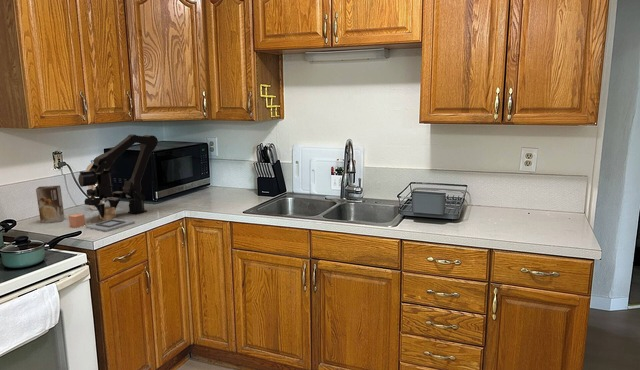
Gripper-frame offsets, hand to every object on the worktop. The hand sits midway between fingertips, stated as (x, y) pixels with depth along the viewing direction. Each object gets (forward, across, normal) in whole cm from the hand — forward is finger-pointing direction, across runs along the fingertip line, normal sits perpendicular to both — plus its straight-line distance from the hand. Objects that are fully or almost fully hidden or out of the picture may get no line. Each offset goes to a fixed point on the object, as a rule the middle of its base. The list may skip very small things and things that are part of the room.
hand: (107, 216), depth 224 cm
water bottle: (+1, -11, -21) cm, 24 cm away
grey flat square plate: (+1, +8, +12) cm, 15 cm away
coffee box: (+1, +14, -20) cm, 24 cm away
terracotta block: (+1, +15, -1) cm, 15 cm away
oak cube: (+1, 0, 0) cm, 1 cm away
